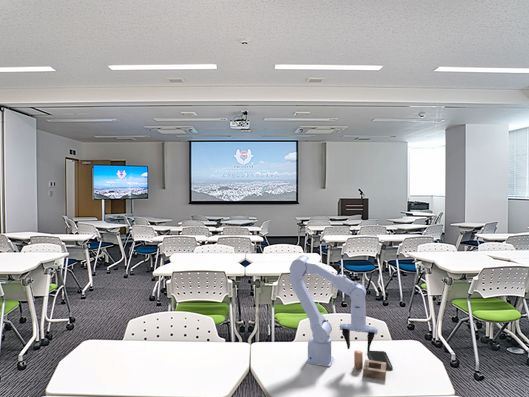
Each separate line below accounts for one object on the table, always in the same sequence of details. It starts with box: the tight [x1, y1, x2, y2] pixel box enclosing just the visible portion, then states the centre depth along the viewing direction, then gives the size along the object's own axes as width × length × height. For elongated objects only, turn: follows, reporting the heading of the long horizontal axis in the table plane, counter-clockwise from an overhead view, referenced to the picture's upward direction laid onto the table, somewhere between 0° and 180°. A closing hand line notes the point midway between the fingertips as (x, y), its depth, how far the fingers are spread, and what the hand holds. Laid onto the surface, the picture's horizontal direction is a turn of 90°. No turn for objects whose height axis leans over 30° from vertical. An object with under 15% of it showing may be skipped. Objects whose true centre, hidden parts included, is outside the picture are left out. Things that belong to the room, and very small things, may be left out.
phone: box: [366, 350, 394, 371], centre depth 152 cm, size 8×1×15 cm
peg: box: [353, 349, 364, 370], centre depth 147 cm, size 3×3×6 cm
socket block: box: [362, 359, 387, 381], centre depth 142 cm, size 8×8×3 cm
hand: (358, 349), depth 147 cm, fingers open, 7 cm apart
